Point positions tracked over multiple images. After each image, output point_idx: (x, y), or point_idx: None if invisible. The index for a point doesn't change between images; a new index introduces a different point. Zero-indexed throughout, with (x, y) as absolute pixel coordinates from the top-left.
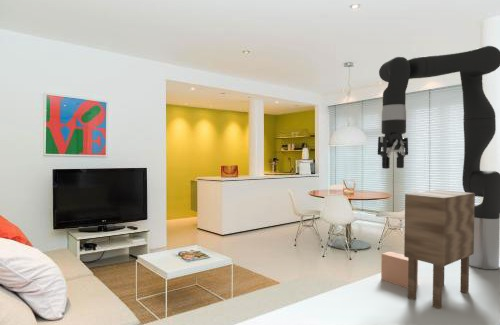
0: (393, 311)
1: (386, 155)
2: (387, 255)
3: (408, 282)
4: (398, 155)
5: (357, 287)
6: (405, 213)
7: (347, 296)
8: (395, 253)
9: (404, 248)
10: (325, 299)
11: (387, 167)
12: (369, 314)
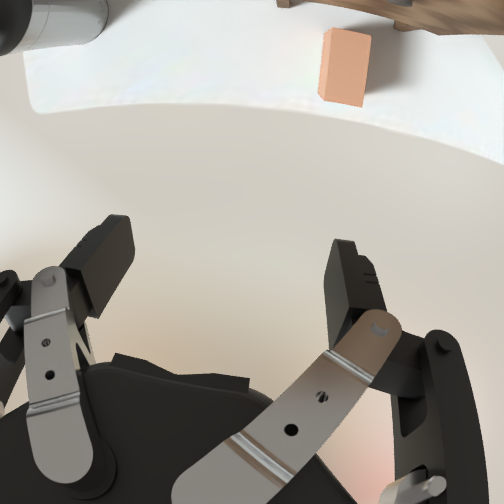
0: (462, 43)
1: (394, 332)
2: (364, 91)
3: (414, 29)
4: (82, 318)
5: (418, 119)
6: (501, 33)
7: (461, 118)
8: (333, 81)
9: (447, 34)
10: (486, 142)
11: (352, 248)
12: (490, 72)
